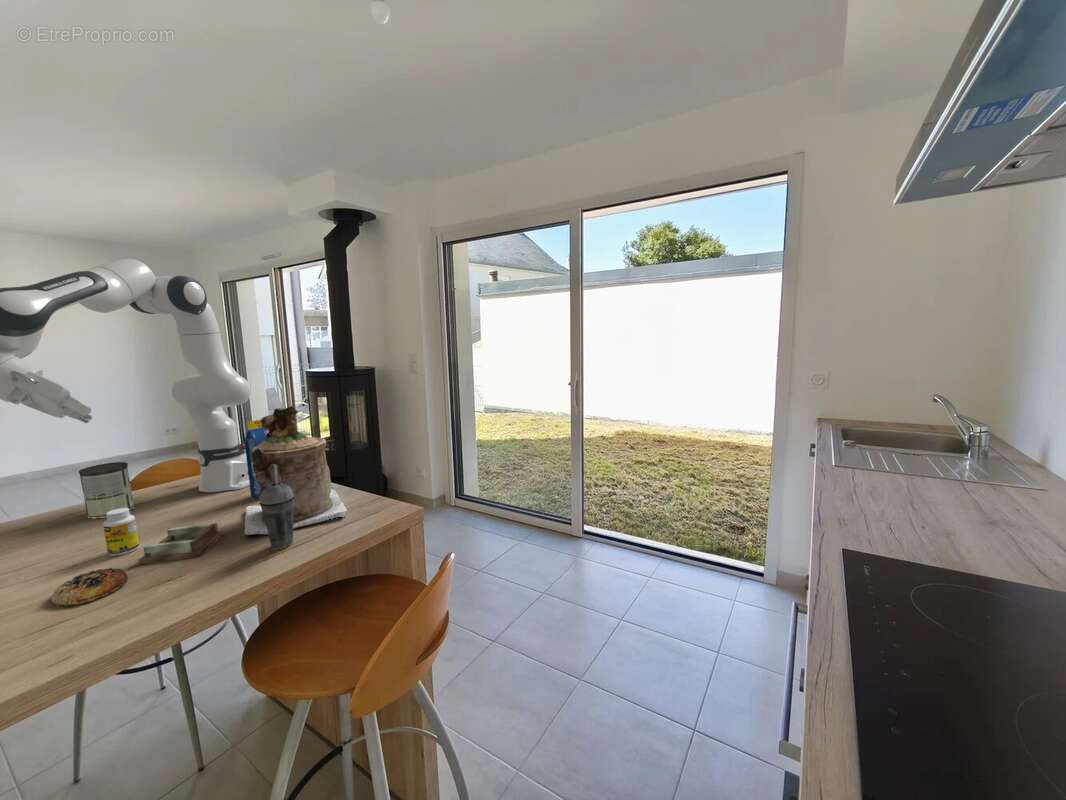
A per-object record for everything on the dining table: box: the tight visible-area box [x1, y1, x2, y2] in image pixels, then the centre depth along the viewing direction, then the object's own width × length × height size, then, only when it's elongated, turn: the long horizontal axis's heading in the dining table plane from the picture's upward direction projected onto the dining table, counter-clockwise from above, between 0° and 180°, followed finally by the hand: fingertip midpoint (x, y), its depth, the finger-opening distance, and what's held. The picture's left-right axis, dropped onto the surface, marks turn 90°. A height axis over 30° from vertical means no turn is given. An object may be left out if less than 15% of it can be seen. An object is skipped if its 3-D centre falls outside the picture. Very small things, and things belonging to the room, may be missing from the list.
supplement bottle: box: [102, 508, 140, 557], centre depth 103 cm, size 6×6×10 cm
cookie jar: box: [244, 405, 348, 537], centre depth 122 cm, size 25×25×32 cm
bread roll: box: [50, 567, 129, 607], centre depth 87 cm, size 11×11×5 cm
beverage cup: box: [259, 464, 294, 550], centre depth 103 cm, size 7×7×20 cm
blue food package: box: [244, 419, 269, 500], centre depth 141 cm, size 6×12×25 cm, turn 152°
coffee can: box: [78, 461, 135, 518], centre depth 128 cm, size 10×10×14 cm
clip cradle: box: [138, 522, 225, 564], centre depth 104 cm, size 12×12×4 cm
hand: (89, 416), depth 100 cm, fingers open, 8 cm apart
